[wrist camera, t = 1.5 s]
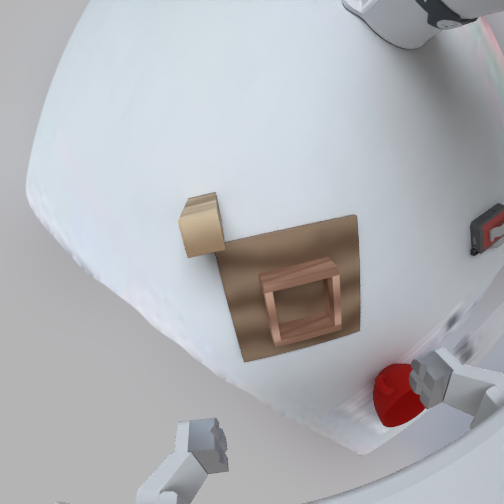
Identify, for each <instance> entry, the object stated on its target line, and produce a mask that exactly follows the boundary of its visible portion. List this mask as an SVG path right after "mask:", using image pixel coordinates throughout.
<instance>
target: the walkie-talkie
mask: <svg viewBox="0 0 504 504" xmlns="http://www.w3.org/2000/svg"><path fill="white" fill-rule="evenodd" d="M470 230H471V246H472V250H471V255H473V256H475V255H477V254H478V253H480V254H481V253H483V252H484V251H485V250H486V249H488V248H490V247H492V246H493V247H495V248H497V247H499V246H500V245H501V244H502V243H504V205H502V204H499V203H498V204H496V205H495V206H494V207H492V208H491V209H489V210H488V211H486V212H485V213H484V214H482V215H481V216H479V217H478V218H476V219H475V220H473V221H472V222H471V225H470ZM474 251H476V252H474Z"/></svg>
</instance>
